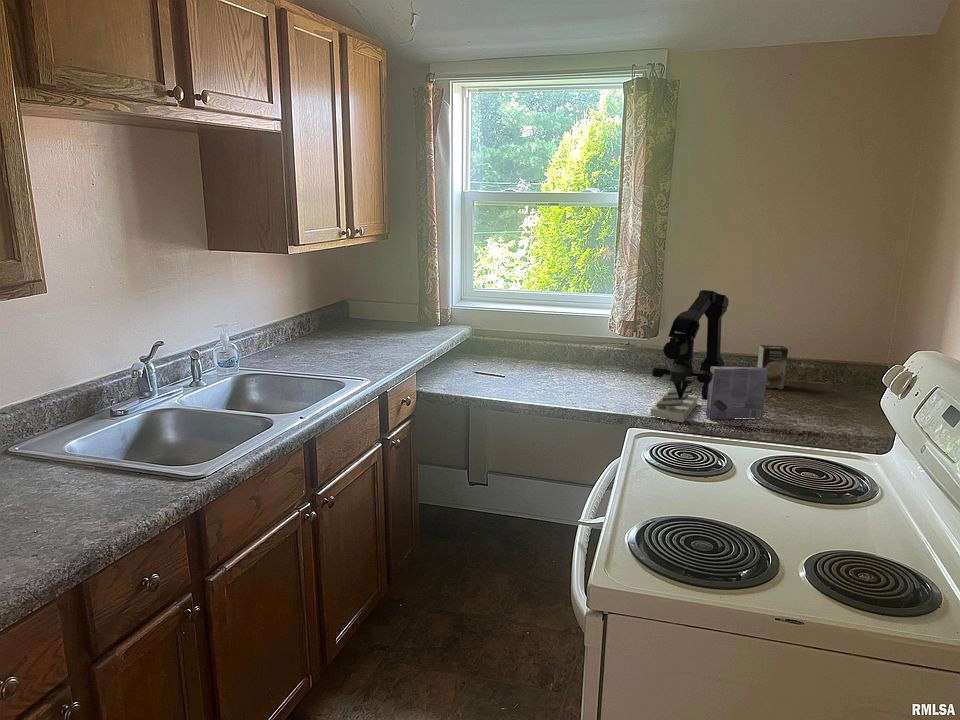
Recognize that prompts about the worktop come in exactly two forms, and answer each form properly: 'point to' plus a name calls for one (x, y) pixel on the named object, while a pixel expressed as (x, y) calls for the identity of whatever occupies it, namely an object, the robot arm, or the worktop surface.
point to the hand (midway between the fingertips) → (680, 398)
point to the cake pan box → (736, 392)
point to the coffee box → (773, 364)
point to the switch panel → (675, 409)
